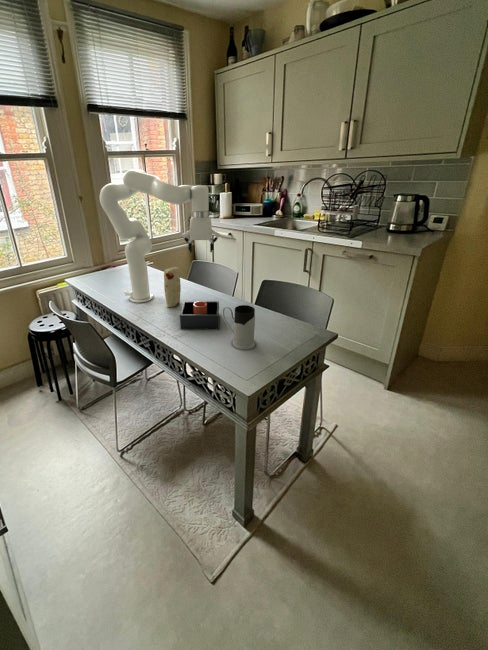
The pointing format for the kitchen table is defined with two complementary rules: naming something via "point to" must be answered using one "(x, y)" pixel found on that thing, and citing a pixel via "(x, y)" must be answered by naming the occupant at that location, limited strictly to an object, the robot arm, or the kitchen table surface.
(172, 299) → the food model
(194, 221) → the robot arm
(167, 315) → the kitchen table surface
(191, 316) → the black storage bin
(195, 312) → the cup
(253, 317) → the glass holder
